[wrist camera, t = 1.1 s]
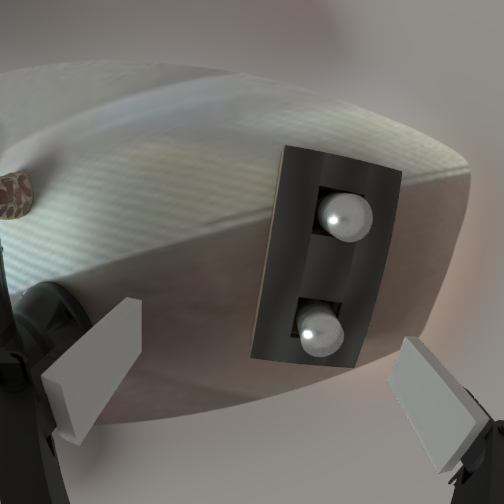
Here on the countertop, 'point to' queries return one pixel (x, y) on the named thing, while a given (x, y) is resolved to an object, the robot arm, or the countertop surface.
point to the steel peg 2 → (344, 216)
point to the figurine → (15, 195)
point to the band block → (322, 255)
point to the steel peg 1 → (318, 328)
